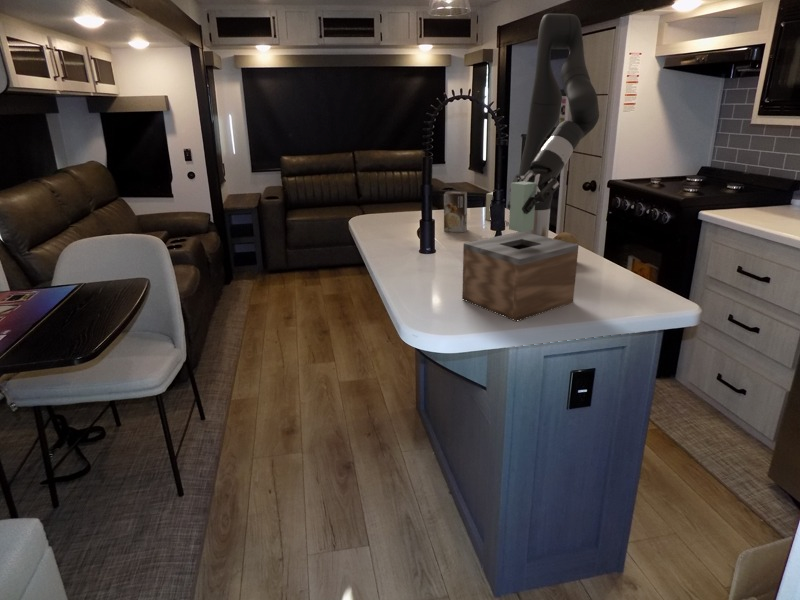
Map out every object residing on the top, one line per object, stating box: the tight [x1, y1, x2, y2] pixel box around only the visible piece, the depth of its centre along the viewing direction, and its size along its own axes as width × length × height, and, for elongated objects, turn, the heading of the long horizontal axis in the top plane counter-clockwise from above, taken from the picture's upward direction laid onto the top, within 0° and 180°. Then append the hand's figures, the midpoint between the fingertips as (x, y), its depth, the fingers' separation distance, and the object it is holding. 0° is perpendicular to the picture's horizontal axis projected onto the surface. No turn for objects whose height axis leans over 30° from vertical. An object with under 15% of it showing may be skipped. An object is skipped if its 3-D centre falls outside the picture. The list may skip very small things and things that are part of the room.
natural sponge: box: [552, 232, 579, 245], centre depth 181 cm, size 9×9×10 cm
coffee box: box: [443, 191, 468, 233], centre depth 226 cm, size 9×6×16 cm
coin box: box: [461, 231, 580, 322], centre depth 144 cm, size 20×22×16 cm
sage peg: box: [508, 181, 536, 232], centre depth 138 cm, size 4×4×12 cm
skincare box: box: [484, 191, 494, 221], centre depth 247 cm, size 6×4×12 cm
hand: (517, 210), depth 137 cm, fingers closed on sage peg, 4 cm apart
